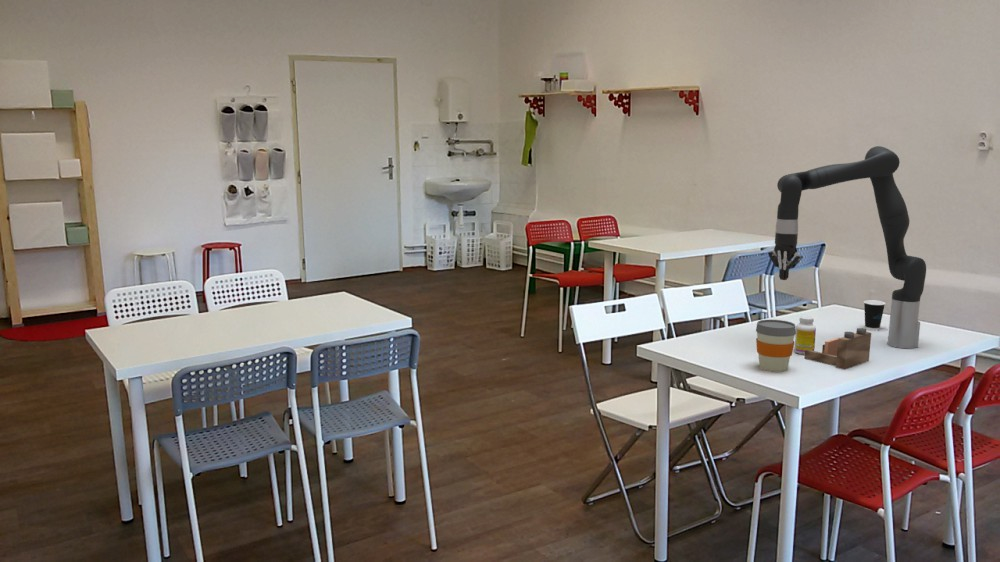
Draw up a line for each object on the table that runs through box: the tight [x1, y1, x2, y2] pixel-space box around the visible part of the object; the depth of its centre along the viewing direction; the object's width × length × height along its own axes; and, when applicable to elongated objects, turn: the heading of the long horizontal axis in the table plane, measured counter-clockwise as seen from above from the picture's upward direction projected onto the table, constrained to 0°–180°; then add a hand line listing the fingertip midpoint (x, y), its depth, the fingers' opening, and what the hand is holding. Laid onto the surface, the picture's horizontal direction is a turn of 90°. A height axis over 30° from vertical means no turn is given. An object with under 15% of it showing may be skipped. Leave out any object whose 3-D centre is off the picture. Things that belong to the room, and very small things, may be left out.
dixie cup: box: [863, 299, 886, 332], centre depth 321 cm, size 8×8×11 cm
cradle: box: [804, 327, 872, 370], centre depth 277 cm, size 16×16×12 cm
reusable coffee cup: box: [755, 319, 797, 372], centre depth 268 cm, size 13×13×15 cm
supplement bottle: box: [793, 315, 817, 356], centre depth 286 cm, size 7×7×13 cm
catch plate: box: [824, 337, 839, 356], centre depth 278 cm, size 1×9×6 cm, turn 128°
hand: (783, 279), depth 290 cm, fingers closed
